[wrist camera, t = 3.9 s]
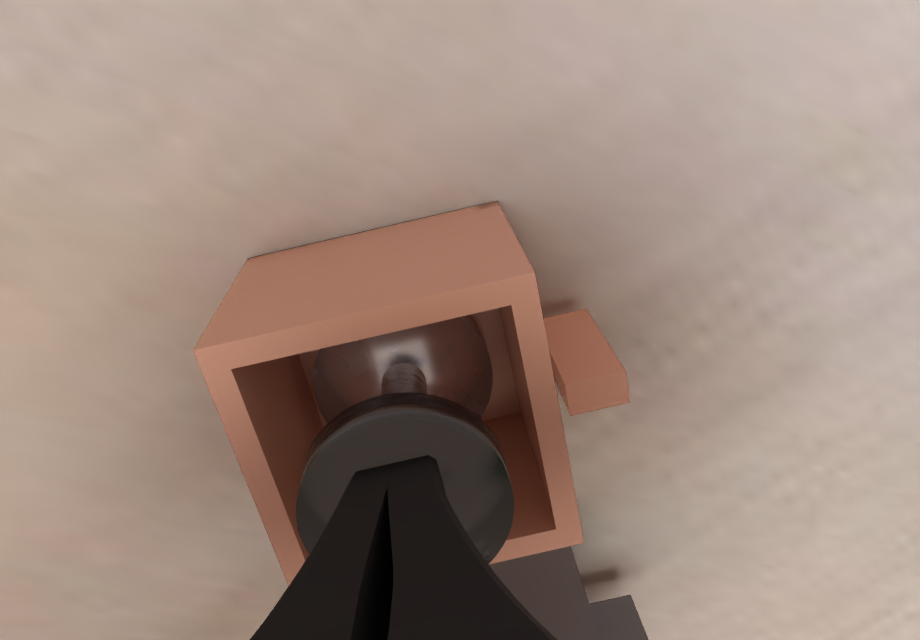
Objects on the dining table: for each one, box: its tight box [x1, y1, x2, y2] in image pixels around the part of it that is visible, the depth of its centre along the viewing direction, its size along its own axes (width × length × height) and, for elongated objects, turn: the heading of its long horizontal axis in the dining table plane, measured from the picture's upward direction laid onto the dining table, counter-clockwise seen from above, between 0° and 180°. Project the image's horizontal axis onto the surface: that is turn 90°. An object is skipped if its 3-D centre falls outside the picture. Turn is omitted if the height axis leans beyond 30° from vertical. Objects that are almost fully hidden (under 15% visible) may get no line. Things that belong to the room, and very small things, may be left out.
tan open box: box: [193, 201, 630, 585], centre depth 16 cm, size 6×7×5 cm
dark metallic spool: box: [296, 315, 514, 564], centre depth 14 cm, size 4×4×5 cm
